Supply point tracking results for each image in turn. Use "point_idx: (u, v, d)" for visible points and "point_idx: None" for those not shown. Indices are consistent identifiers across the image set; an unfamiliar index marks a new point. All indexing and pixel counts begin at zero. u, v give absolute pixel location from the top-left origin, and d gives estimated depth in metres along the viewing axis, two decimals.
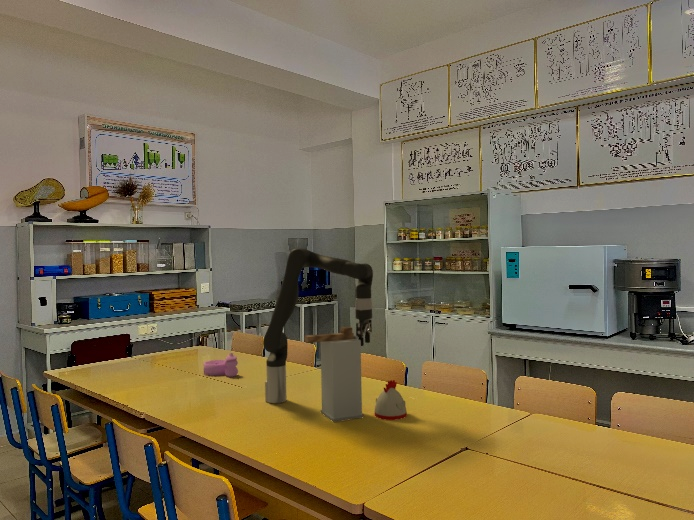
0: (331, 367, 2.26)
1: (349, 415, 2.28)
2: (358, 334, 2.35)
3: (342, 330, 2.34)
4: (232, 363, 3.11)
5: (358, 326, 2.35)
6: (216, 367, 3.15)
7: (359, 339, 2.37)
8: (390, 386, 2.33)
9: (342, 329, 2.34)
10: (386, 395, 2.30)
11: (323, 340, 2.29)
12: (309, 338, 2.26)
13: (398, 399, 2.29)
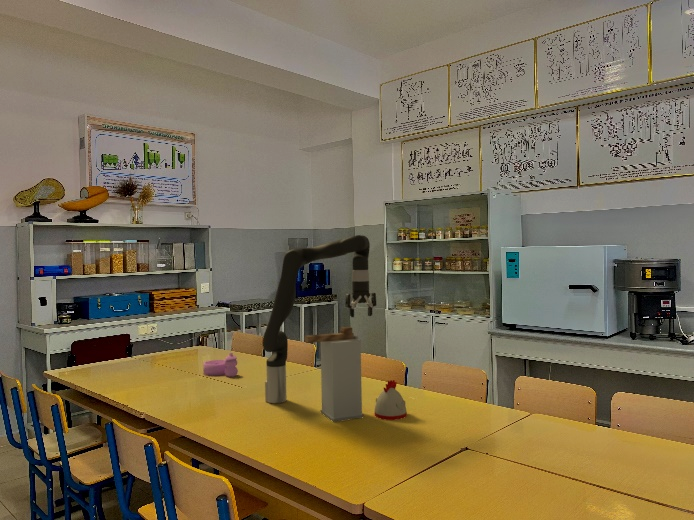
0: (331, 367, 2.26)
1: (349, 415, 2.28)
2: None
3: (342, 330, 2.34)
4: (232, 363, 3.11)
5: None
6: (216, 367, 3.15)
7: (371, 309, 2.41)
8: (390, 386, 2.33)
9: (342, 329, 2.34)
10: (386, 395, 2.30)
11: (323, 340, 2.29)
12: (309, 338, 2.26)
13: (398, 399, 2.29)
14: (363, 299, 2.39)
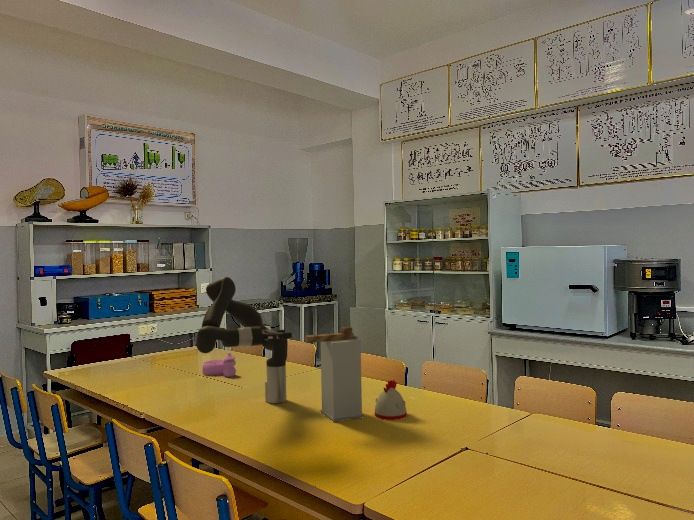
0: (331, 367, 2.26)
1: (349, 415, 2.28)
2: (280, 337, 2.11)
3: (342, 330, 2.34)
4: (230, 363, 3.11)
5: (271, 337, 2.09)
6: (214, 367, 3.15)
7: (285, 336, 2.13)
8: (390, 386, 2.33)
9: (342, 329, 2.34)
10: (386, 395, 2.30)
11: (323, 340, 2.29)
12: (309, 338, 2.26)
13: (398, 399, 2.29)
14: None
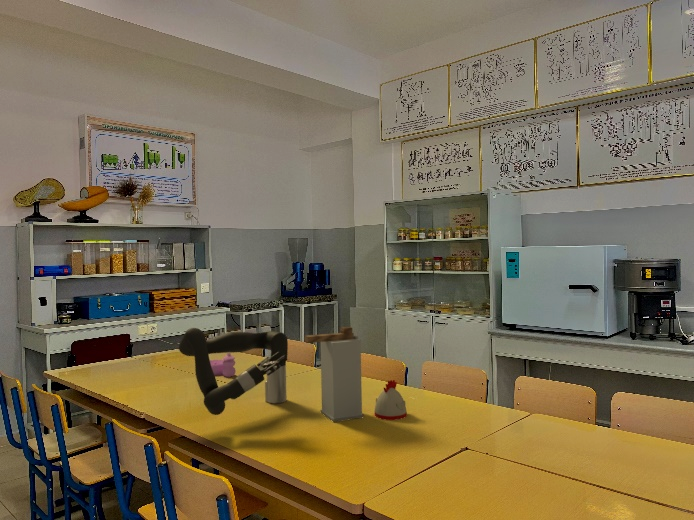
0: (331, 367, 2.26)
1: (349, 415, 2.28)
2: (277, 366, 2.15)
3: (342, 330, 2.34)
4: (229, 363, 3.11)
5: (269, 371, 2.14)
6: (214, 367, 3.15)
7: (281, 362, 2.18)
8: (390, 386, 2.33)
9: (342, 329, 2.34)
10: (386, 395, 2.30)
11: (323, 340, 2.29)
12: (309, 338, 2.26)
13: (398, 399, 2.29)
14: None
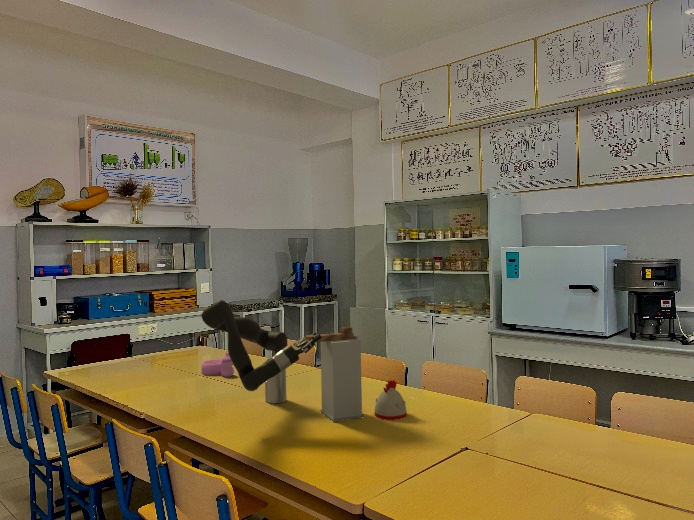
0: (331, 367, 2.26)
1: (349, 415, 2.28)
2: (312, 344, 2.23)
3: (342, 330, 2.34)
4: (227, 363, 3.11)
5: (307, 348, 2.21)
6: (213, 367, 3.16)
7: (315, 340, 2.26)
8: (390, 386, 2.33)
9: (342, 329, 2.34)
10: (386, 395, 2.30)
11: (323, 340, 2.29)
12: (309, 338, 2.26)
13: (398, 399, 2.29)
14: None
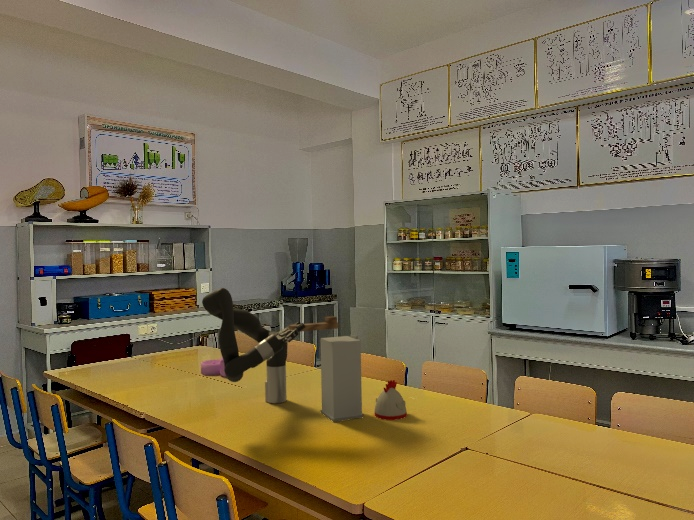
0: (331, 367, 2.26)
1: (349, 415, 2.28)
2: (295, 333, 2.20)
3: (326, 319, 2.31)
4: None
5: (290, 337, 2.18)
6: (212, 367, 3.16)
7: (299, 329, 2.23)
8: (390, 386, 2.33)
9: (326, 318, 2.31)
10: (386, 395, 2.30)
11: (307, 329, 2.25)
12: (293, 327, 2.23)
13: (398, 399, 2.29)
14: None
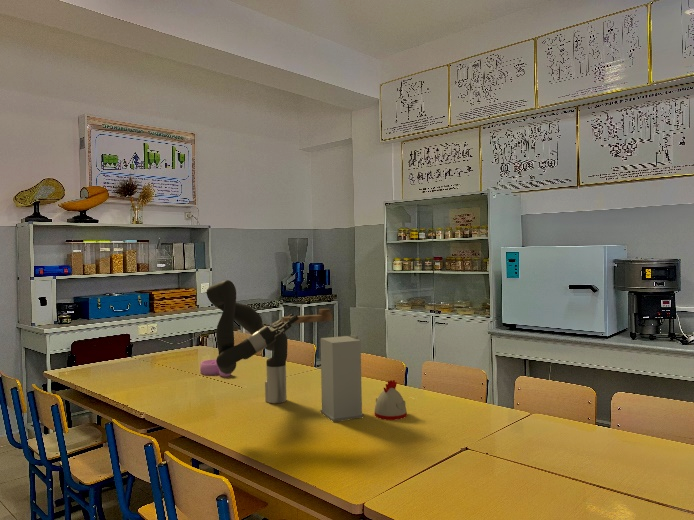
0: (331, 367, 2.26)
1: (349, 415, 2.28)
2: (288, 325, 2.19)
3: (320, 312, 2.30)
4: None
5: (283, 329, 2.17)
6: (211, 367, 3.17)
7: (292, 321, 2.22)
8: (390, 386, 2.33)
9: (320, 311, 2.30)
10: (386, 395, 2.30)
11: (300, 321, 2.24)
12: (286, 319, 2.22)
13: (398, 399, 2.29)
14: None
